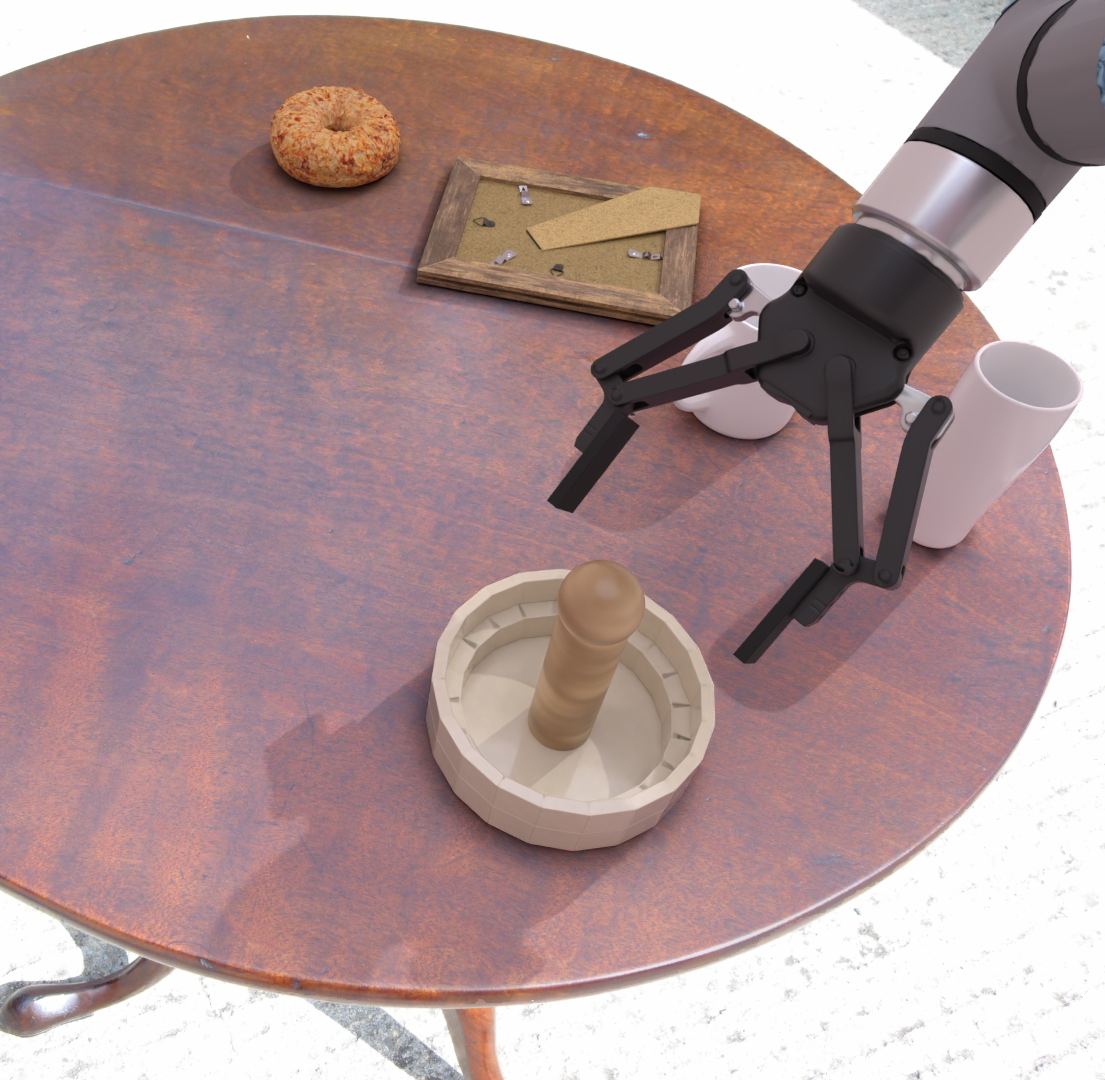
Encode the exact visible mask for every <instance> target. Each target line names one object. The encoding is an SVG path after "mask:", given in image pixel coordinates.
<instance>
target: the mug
mask: <svg viewBox="0 0 1105 1080" xmlns="http://www.w3.org/2000/svg"><path fill="white" fill-rule="evenodd" d="M736 269H741V270H743V271H745V272H746V274H747V275H748V277H749V278H750V279H751V280H752V282H753V284H754V285H755V286H756V287H758V288H759V289H760V290H761V291H763V292H764V293H765V294H766V295H767V296H769V297H770V298H771V299H772V300H774V299H776V298H778V297H780V296H782V295H783V294H784V293H786V292H787V291H788V290H789V289H790V288H791V287H792V285H793V284H794V282H795V281H796V280H797V278H798V277H799V275H800V274H801V273H802V272H803V270H800V269H797V268H795V267H792V266H789V265H783V264H779V263H771V262H770V263H769V262H768V263H767V262H761V263H760V262H759V263H751V264H746V265H742V266H740V267H737V268H736ZM758 322H759V316H752V317H749V318H748V319H746V320H744V321H742V322H736V321H734V320H733V321H732V322H730V323H729V324H728V325H727V326H725V327H724V328H722V329H720V330H719V331H717V332H715V333H714V334H712V335H710V336H708V337H706V338H705V339H703V340H701V341H699V342H697V343H695V346H693V348H692V349H691V351H689V352H688V354H687V356H686V357H685V359H684V360H683V362H682V364H681V366H683V365H686V364H690V363H693V362H696V361H700V360H703V359H707V358H710V357H714V356H717V355H721V354H723V353H724V352H725V351H727V350H729V349H732V348H735V347H739V346H742V345H746V344H749V343H753V342H756V341H757V340H758ZM760 386H761V385H760V384H759V382H758V381H757V382H754V383H750V384H744V385H733V386H730V387H726V388H722V389H719V390H715V391H711V392H708V393H704V394H700V395H696V396H693V397H689V398H685V399H682V400H678V401H674V402H672V403H673V405H674V406H675V407H676V408H677V409H678V410H680V411H683V412H689V413H693V415H694V416H695V417H696V418H697V419H698V420H699V422H700V423H702V424H703V425H705V426H706V427H707V428H709V429H711V430H713V431H715V432H716V433H719V434H721V435H723V436H726V437H730V438H734V439H740V440H758V439H763V438H764V439H765V438H767V437H771V436H772V435H774V434H777V433H778V432H779V431H781V430H782V429H783V428H784V427H785V426H786V425H787V424H788V423H789V422H790V421H791V418H792V417H793V415H794V413H795V411H796V410H795V409H794V408H793V406H790V405H787V404H784V403H781V402H778V401H777V400H776V399H774V398H773V397H771V396H770V395H768V394H767V393H766V392H765V391H764V390H763V389H762V388H761V387H760Z"/></svg>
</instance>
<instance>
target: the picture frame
mask: <svg viewBox="0 0 1105 1080" xmlns="http://www.w3.org/2000/svg"><path fill="white" fill-rule="evenodd" d="M701 201H702V194H701V193H695V192H689V191H682V190H675V189H671V188H665V187H664V188H663V187H658V186H652V185H650V186H647V187H644V186H638V185H633V184H627V183H621V182H614V181H608V180H602V179H597V178H590V177H584V176H579V175H573V174H566V173H560V172H556V171H555V172H554V171H549V170H543V169H537V168H530V167H525V166H518V165H513V164H508V163H507V164H506V163H501V162H495V161H489V160H483V159H478V158H470V157H465V156H459V155H457V156H456V158H455V161H454V164H453V166H452V170H451V172H450V175H449V178H448V180H447V183H446V187H445V189H444V192H443V194H442V198H441V200H440V203H439V207H438V210H437V212H436V215H435V218H434V221H433V224H432V227H431V229H430V232H429V235H428V238H427V240H426V243H425V246H424V250H423V252H422V255H421V258H420V261H419V264H418V267H417V270H416V274H417V276H416V283H419V284H424V285H425V284H426V285H431V286H436V287H441V288H447V289H453V290H459V291H465V292H470V293H475V294H481V295H485V296H492V297H497V298H504V299H507V300H512V301H513V300H514V301H519V302H524V303H531V304H535V305H542V306H546V307H551V308H552V307H553V308H557V309H558V308H559V309H563V310H569V311H575V312H579V313H585V314H591V315H597V316H603V317H607V318H612V319H613V318H614V319H618V320H624V321H630V322H636V323H641V324H646V325H652V326H656V325H658V324H660V323H661V322H663V321H665V320H667V319H668V318H670V317H672V316H674V315H676V314H677V313H679V312H681V311H683V310H684V309H686V308H688V307H690V306H691V305H693V304H692V303H693V302H692V301H693V293H694V291H693V290H694V281H695V279H694V278H695V265H696V254H697V244H698V232H699V231H698V230H699V222H700V211H701Z"/></svg>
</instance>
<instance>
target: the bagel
mask: <svg viewBox="0 0 1105 1080" xmlns="http://www.w3.org/2000/svg"><path fill="white" fill-rule="evenodd" d="M270 127H271V131H270V135H269V144H270V146H271V149H272V152H273V154H274V157H275V159H276V161H277V164H278V165H279V167H281V169H282V170H283V171H284V172H286V173H287V174H288V175H289V176H290V177H292V178H294V179H296V180H297V181H300V182H303V183H306V184H309V185H312V186H315V187H322V188H333V189H334V188H335V189H336V188H337V189H338V188H339V189H340V188H354V187H358V186H362V185H365V184H369V183H372V182H374V181H378V180H379V179H381V178H382V177H384V176H386V175H388V173H389V172H390V171H391V170H392V169H393V168H394V167H395V166H396V165H397V163H398V161H399V152H400V145H402V144H401V136H402V134H401V130H400V127H399V125H398V122H397V121H396V119H395V117H394V115H393V114H392V112H391V111H390V110H387V108H386V107H385V105H383V104H382V102H380V101H379V100H378V99H377V98H376V96H371V95H369V94H368V93H367V92H365V91H364V89H363V88H359V89H356V88H355V87H353V88H352V87H350V86H343V87H342V86H338V85H337V86H334V85H330V86H325V85H323V86H313V87H312V88H310V89H307V90H302V91H300V92H296V93H294V95H293V96H292V95H291V96H290V97H289V98H288V97H286V98H285V101H282V103H281V105H280V106H279V108H278V109H277V110H275V111H274V112H273V117H272V120H270Z"/></svg>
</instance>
